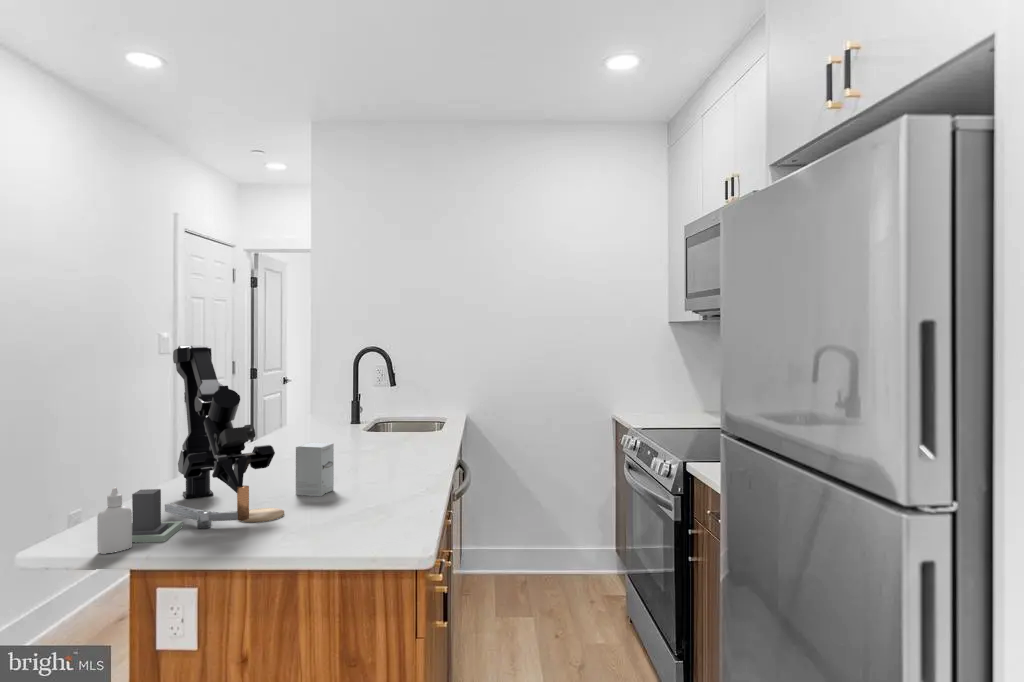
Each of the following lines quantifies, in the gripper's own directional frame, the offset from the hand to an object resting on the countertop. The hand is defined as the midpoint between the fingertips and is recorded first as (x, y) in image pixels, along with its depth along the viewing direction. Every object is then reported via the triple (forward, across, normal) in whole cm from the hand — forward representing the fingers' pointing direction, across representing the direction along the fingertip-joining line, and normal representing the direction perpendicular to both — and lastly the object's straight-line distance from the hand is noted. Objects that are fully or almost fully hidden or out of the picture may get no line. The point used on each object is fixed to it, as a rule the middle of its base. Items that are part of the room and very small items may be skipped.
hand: (239, 492), depth 147 cm
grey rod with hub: (0, -5, +9) cm, 10 cm away
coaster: (+3, +6, +7) cm, 9 cm away
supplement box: (-6, +25, +16) cm, 31 cm away
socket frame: (+2, -17, +8) cm, 19 cm away
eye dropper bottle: (+7, -24, +3) cm, 26 cm away
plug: (+2, -17, +8) cm, 19 cm away
